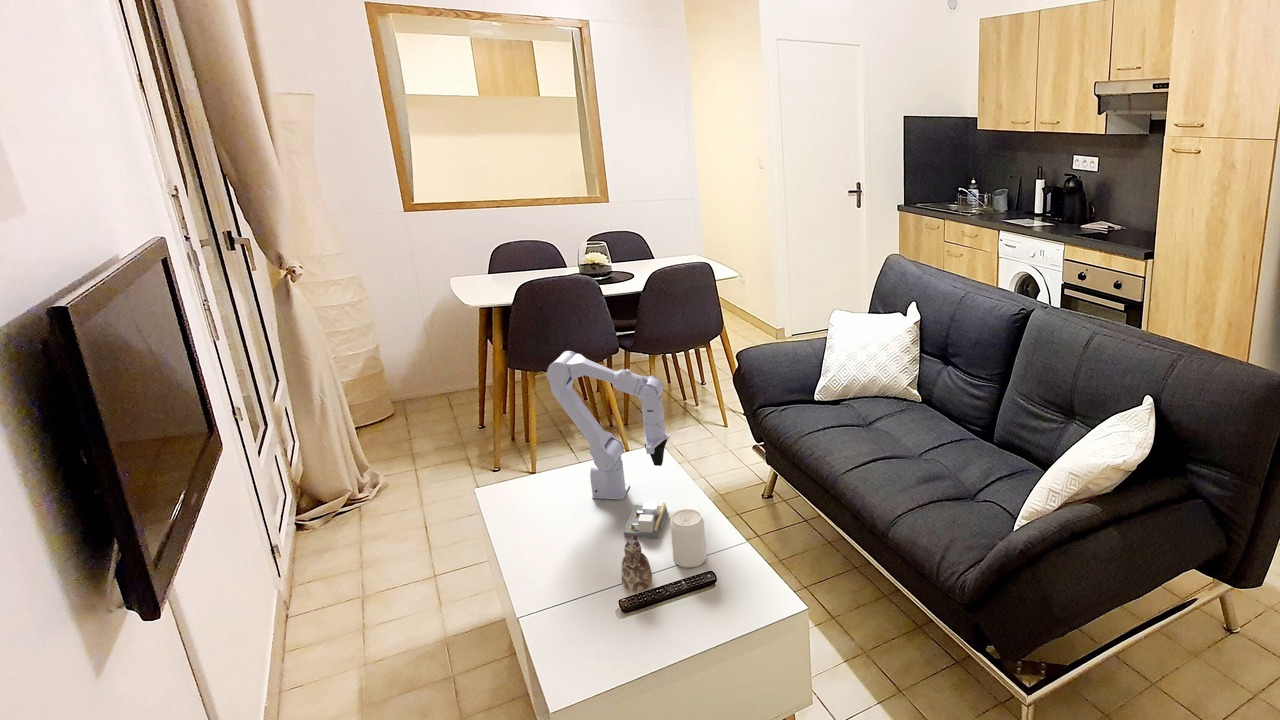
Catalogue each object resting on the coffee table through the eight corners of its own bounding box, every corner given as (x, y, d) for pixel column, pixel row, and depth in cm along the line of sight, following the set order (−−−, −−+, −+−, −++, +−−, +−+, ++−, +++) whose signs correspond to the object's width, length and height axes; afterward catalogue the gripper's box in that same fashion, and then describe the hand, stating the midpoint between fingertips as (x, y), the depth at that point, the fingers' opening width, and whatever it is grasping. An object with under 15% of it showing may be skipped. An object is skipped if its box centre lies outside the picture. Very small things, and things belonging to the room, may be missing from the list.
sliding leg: (635, 517, 186) (634, 507, 185) (637, 511, 189) (636, 501, 188) (656, 518, 185) (655, 508, 184) (658, 512, 187) (658, 502, 186)
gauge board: (624, 537, 181) (622, 521, 180) (635, 509, 193) (633, 494, 192) (657, 538, 179) (656, 522, 178) (667, 510, 191) (665, 495, 189)
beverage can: (709, 551, 172) (707, 509, 168) (702, 571, 165) (698, 528, 161) (678, 547, 175) (675, 506, 171) (669, 567, 168) (665, 525, 164)
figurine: (617, 590, 162) (612, 546, 158) (628, 571, 168) (623, 529, 164) (646, 594, 159) (641, 551, 155) (656, 575, 166) (652, 532, 161)
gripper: (662, 433, 183) (667, 478, 188) (673, 409, 196) (677, 452, 201) (636, 432, 185) (641, 477, 189) (649, 409, 198) (653, 451, 203)
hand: (658, 464), depth 195 cm, fingers closed
